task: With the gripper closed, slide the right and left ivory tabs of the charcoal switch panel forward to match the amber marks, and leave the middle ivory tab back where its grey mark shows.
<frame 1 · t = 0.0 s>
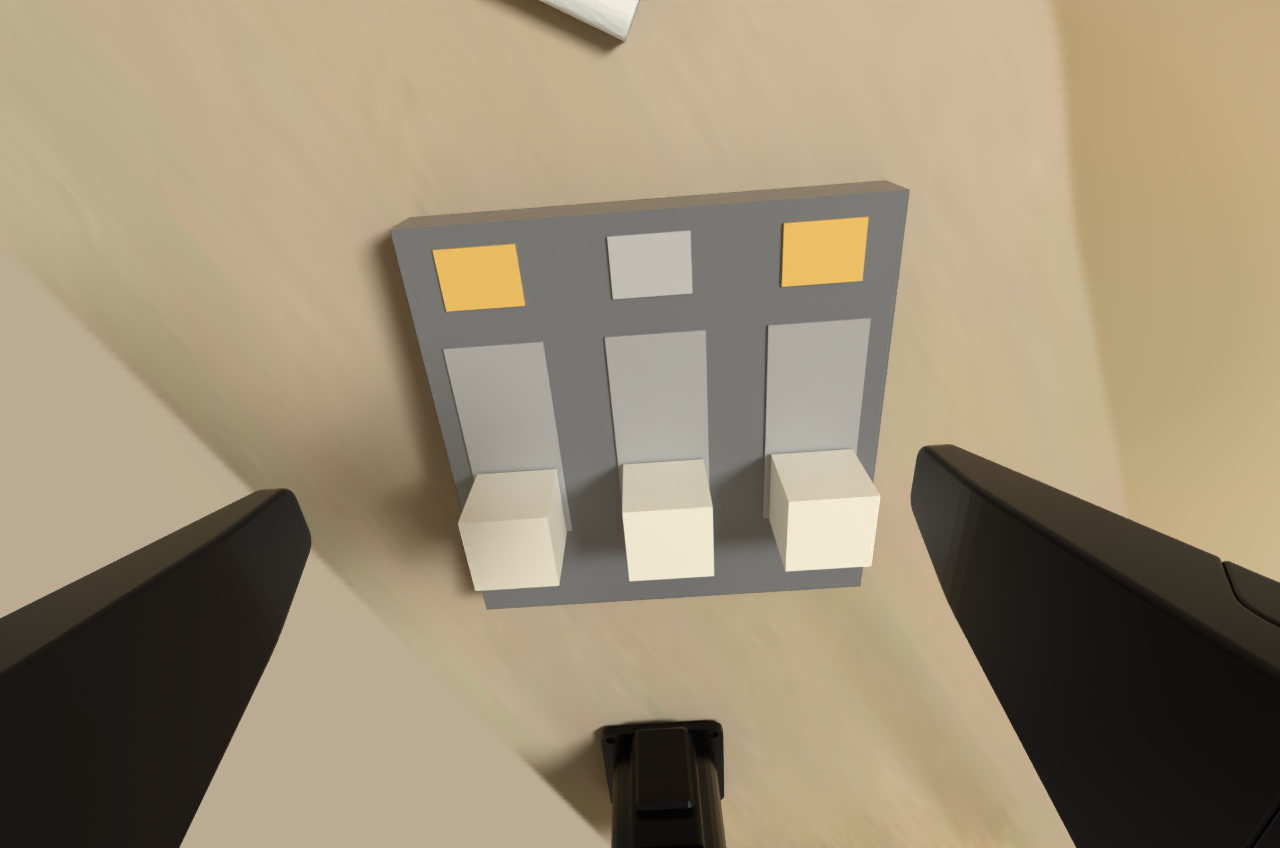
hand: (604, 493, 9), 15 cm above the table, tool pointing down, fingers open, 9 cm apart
tab 1: (819, 508, 23), point 4 cm above the table, slide at 0.0 cm
tab 2: (667, 518, 23), point 4 cm above the table, slide at 0.0 cm
switch panel: (659, 410, 25), on the table
tab 3: (516, 528, 23), point 4 cm above the table, slide at 0.0 cm
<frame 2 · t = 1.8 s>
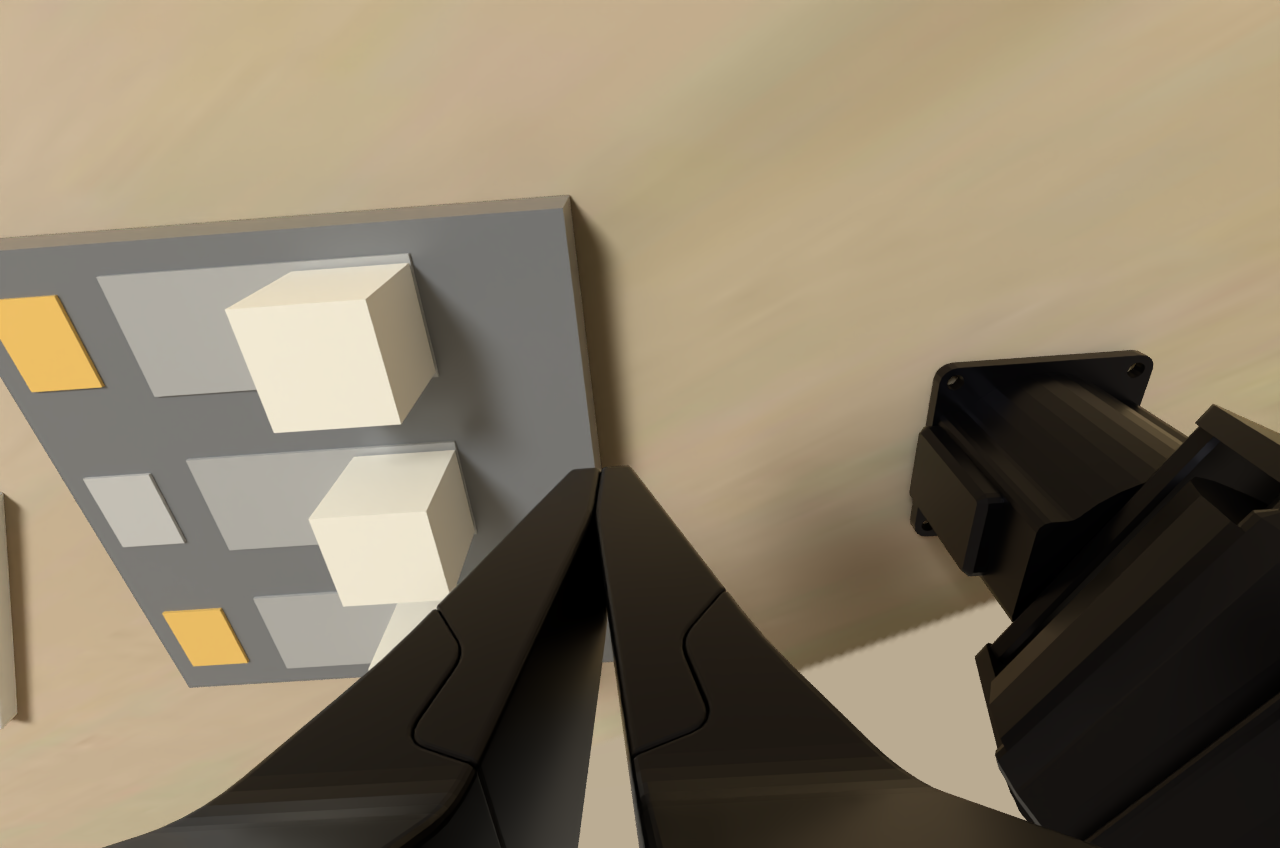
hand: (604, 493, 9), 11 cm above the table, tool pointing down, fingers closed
tab 1: (343, 344, 15), point 4 cm above the table, slide at 0.0 cm
tab 2: (400, 525, 18), point 4 cm above the table, slide at 0.0 cm
switch panel: (361, 462, 21), on the table
tab 3: (443, 660, 21), point 4 cm above the table, slide at 0.0 cm
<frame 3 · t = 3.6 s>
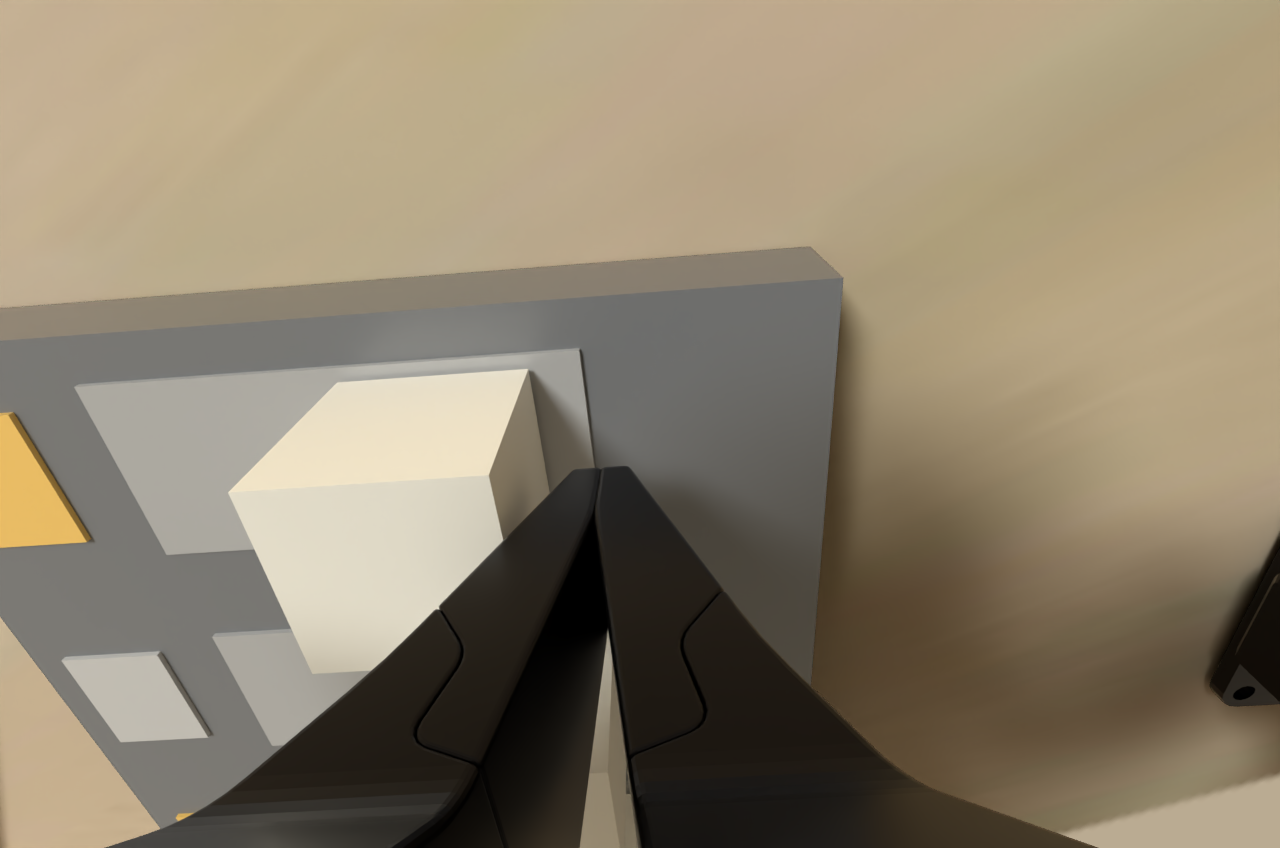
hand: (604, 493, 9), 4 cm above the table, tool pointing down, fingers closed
tab 1: (426, 512, 9), point 4 cm above the table, slide at 0.8 cm, touching gripper
tab 2: (538, 748, 12), point 4 cm above the table, slide at 0.0 cm
switch panel: (455, 610, 15), on the table
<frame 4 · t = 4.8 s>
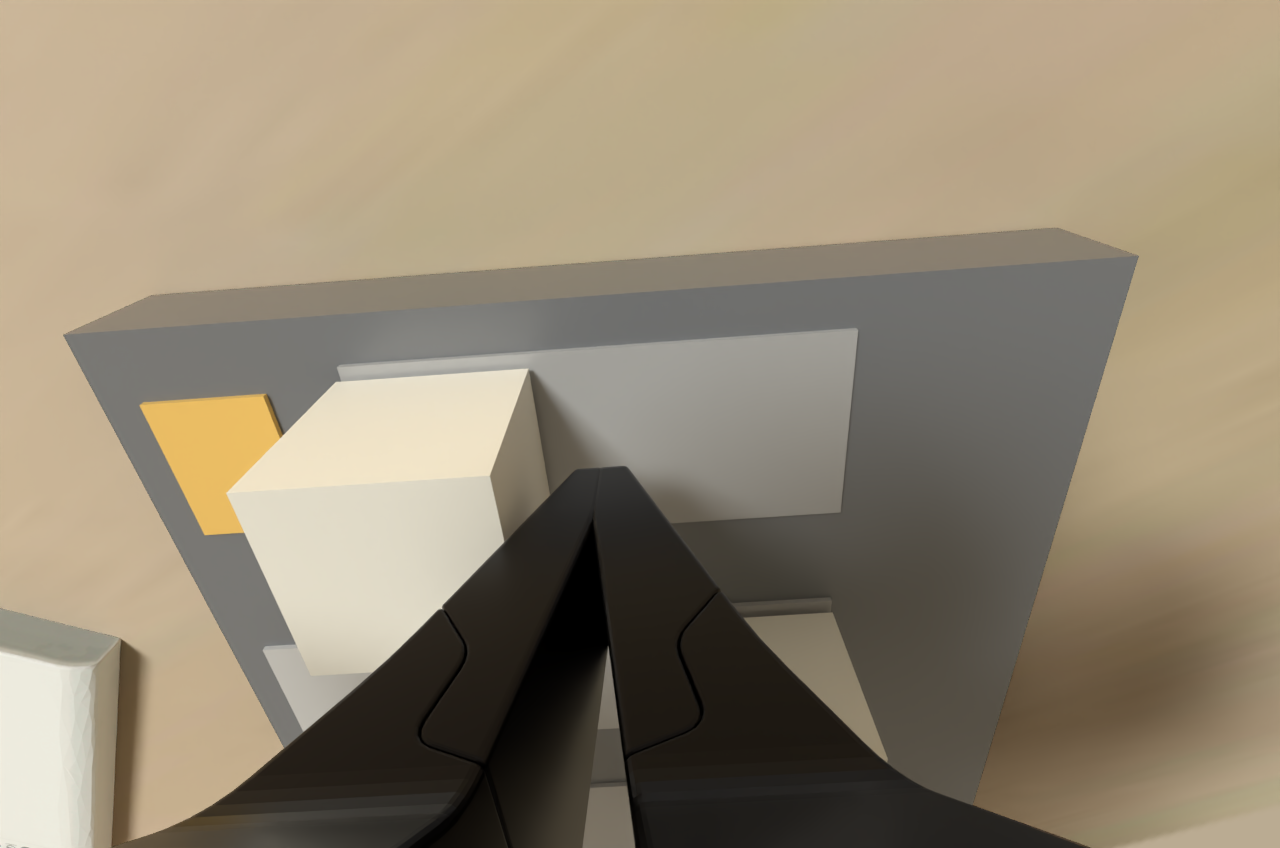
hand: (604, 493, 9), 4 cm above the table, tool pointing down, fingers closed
tab 1: (426, 512, 9), point 4 cm above the table, slide at 5.0 cm, touching gripper
tab 2: (767, 737, 12), point 4 cm above the table, slide at 0.0 cm
switch panel: (631, 600, 15), on the table
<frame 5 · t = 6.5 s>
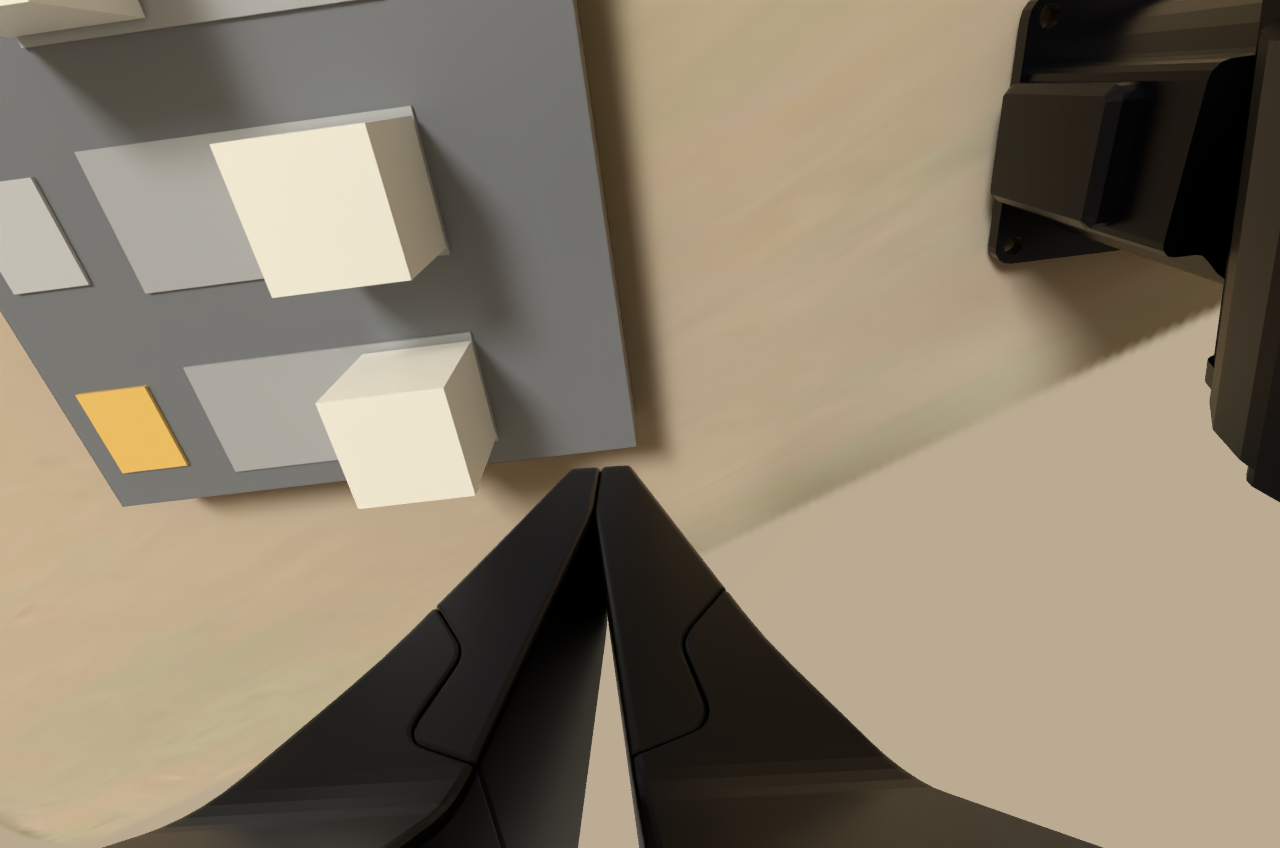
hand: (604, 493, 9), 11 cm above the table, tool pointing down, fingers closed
tab 2: (344, 203, 14), point 4 cm above the table, slide at 0.0 cm
switch panel: (307, 192, 17), on the table
tab 3: (416, 422, 17), point 4 cm above the table, slide at 0.0 cm
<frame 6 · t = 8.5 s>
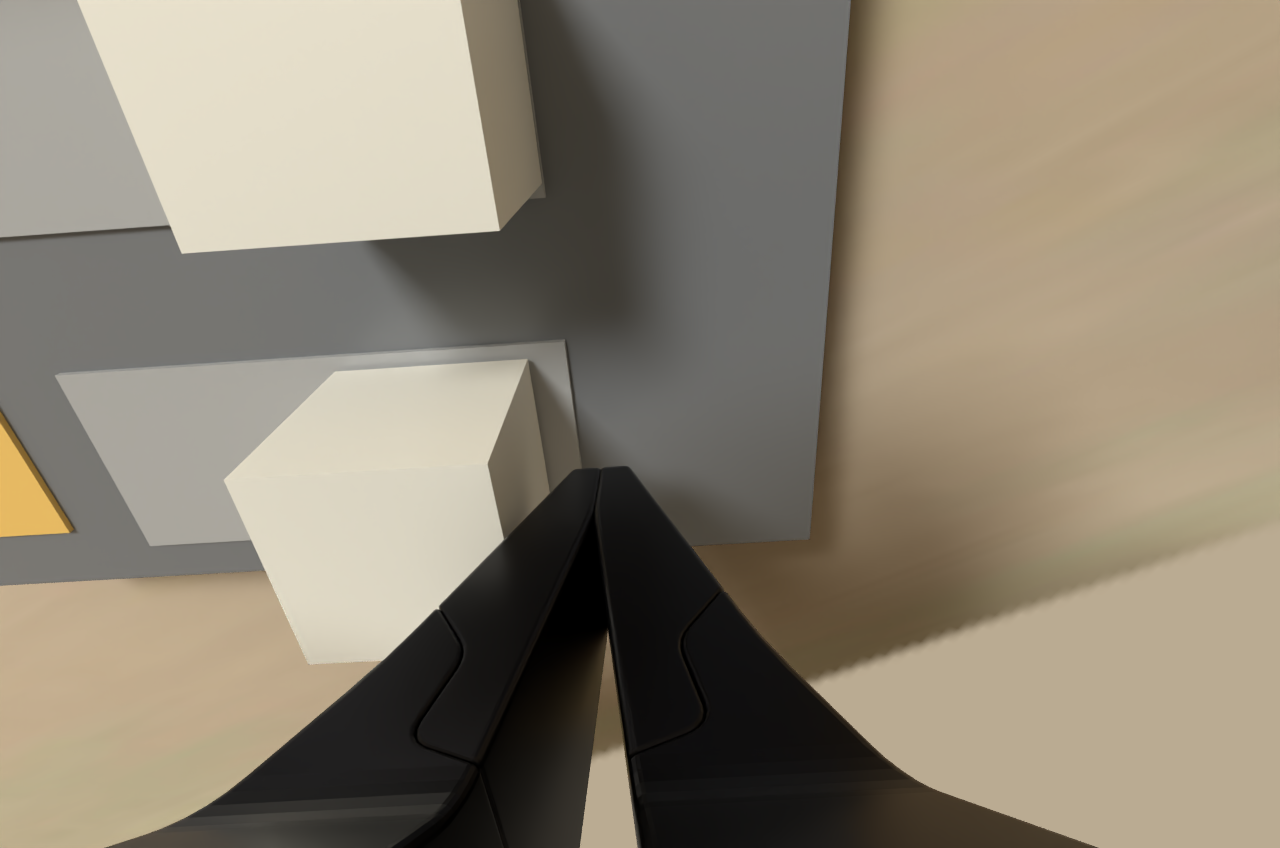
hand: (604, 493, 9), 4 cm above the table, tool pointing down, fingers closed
tab 2: (356, 60, 6), point 4 cm above the table, slide at 0.0 cm
switch panel: (289, 78, 10), on the table
tab 3: (424, 502, 9), point 4 cm above the table, slide at 0.6 cm, touching gripper
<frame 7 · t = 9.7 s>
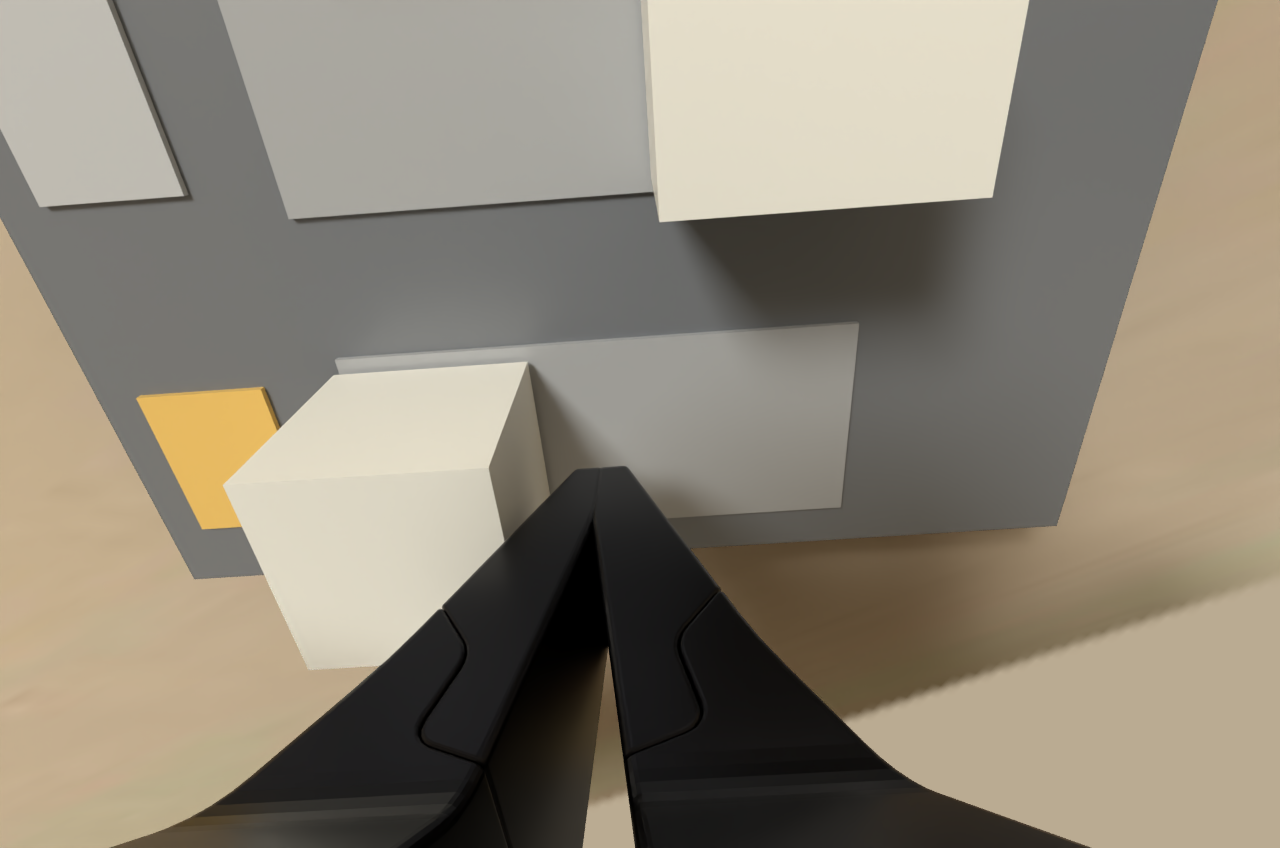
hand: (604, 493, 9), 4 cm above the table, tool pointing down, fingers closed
tab 2: (795, 27, 6), point 4 cm above the table, slide at 0.0 cm
switch panel: (575, 57, 10), on the table
tab 3: (424, 506, 9), point 4 cm above the table, slide at 5.0 cm, touching gripper
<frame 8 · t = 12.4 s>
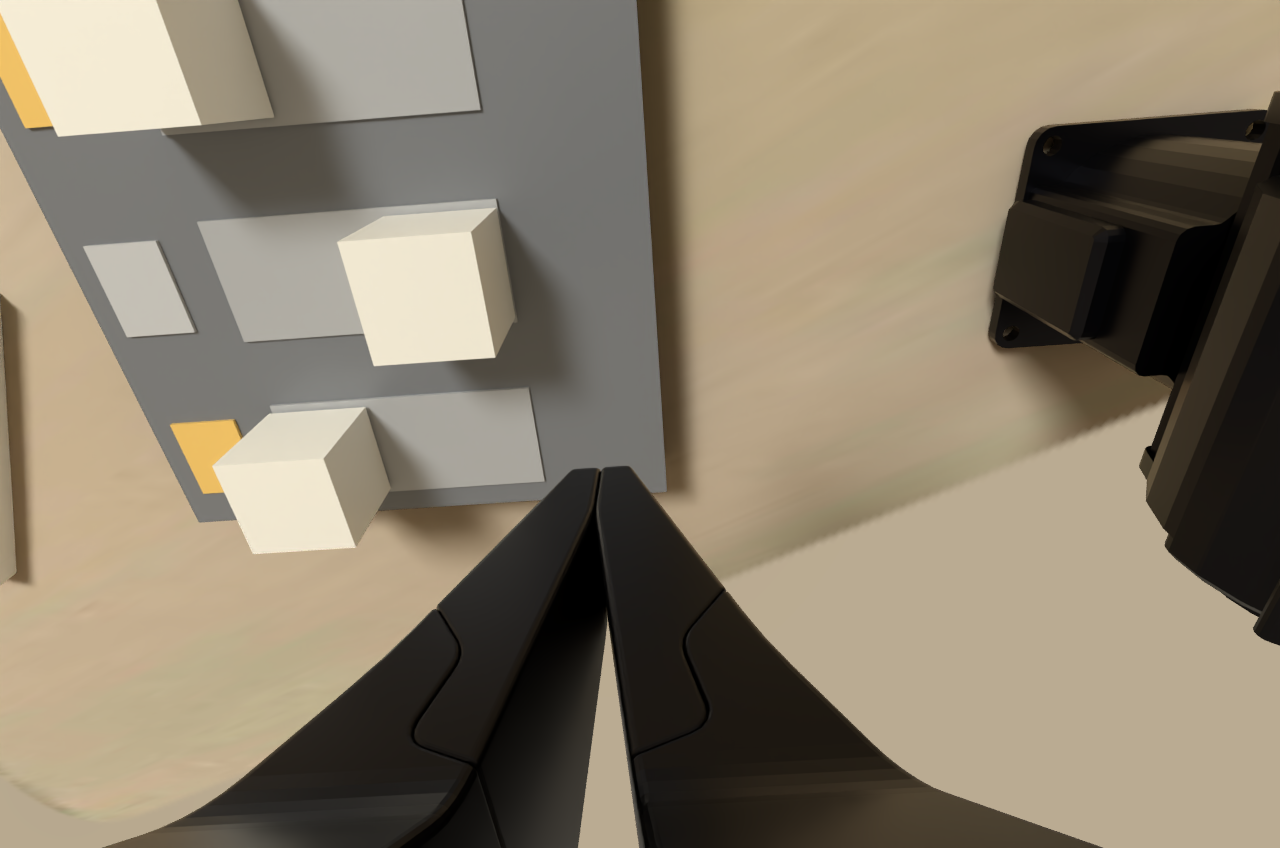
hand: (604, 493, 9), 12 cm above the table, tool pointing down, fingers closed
tab 1: (146, 48, 14), point 4 cm above the table, slide at 5.0 cm
tab 2: (437, 284, 16), point 4 cm above the table, slide at 0.0 cm
switch panel: (389, 255, 19), on the table
tab 3: (310, 478, 19), point 4 cm above the table, slide at 5.0 cm
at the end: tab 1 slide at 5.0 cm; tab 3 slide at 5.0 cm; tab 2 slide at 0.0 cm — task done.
